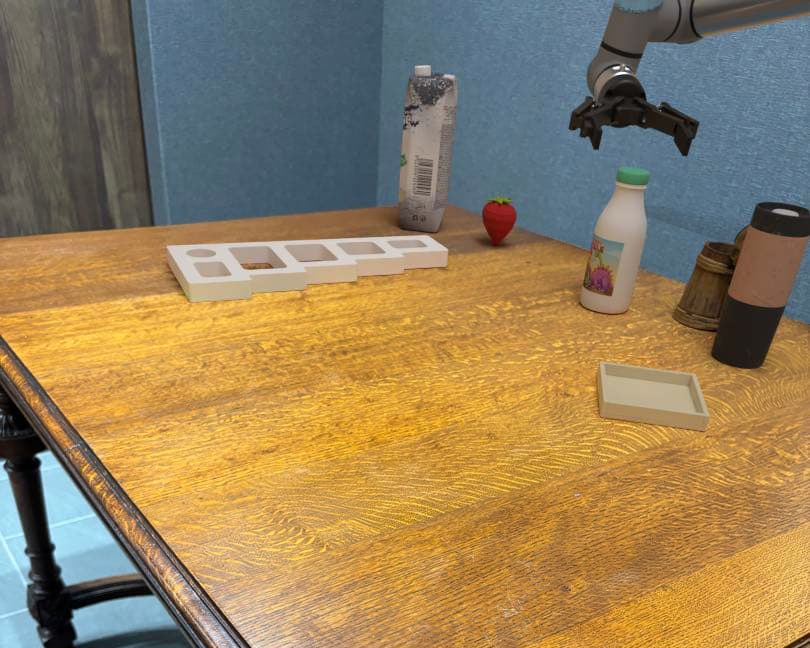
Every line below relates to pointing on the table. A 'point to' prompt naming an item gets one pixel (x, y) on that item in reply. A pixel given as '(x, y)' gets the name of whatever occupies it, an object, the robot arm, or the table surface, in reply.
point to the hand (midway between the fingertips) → (643, 143)
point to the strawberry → (498, 218)
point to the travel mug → (761, 283)
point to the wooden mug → (709, 284)
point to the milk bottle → (617, 245)
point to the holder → (295, 264)
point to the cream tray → (651, 396)
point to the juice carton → (426, 149)
